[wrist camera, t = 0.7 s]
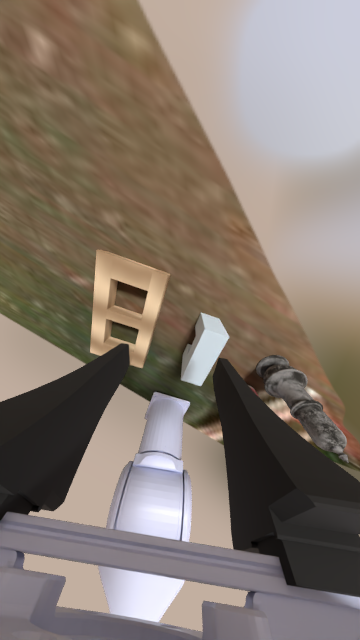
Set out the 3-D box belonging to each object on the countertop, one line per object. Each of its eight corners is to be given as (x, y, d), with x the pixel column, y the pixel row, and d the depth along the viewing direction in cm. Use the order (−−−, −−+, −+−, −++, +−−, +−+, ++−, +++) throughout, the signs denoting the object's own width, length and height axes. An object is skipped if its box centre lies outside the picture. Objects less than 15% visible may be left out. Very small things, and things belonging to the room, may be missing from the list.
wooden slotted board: (145, 360, 24) (142, 368, 22) (97, 345, 24) (90, 352, 22) (170, 274, 18) (168, 275, 16) (106, 251, 17) (96, 249, 16)
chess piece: (252, 379, 24) (304, 475, 13) (256, 354, 22) (322, 443, 11) (286, 379, 24) (369, 479, 13) (294, 353, 21) (403, 446, 10)
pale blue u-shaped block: (198, 359, 23) (200, 386, 18) (182, 354, 23) (180, 379, 18) (219, 318, 20) (229, 337, 15) (201, 312, 20) (204, 328, 15)
